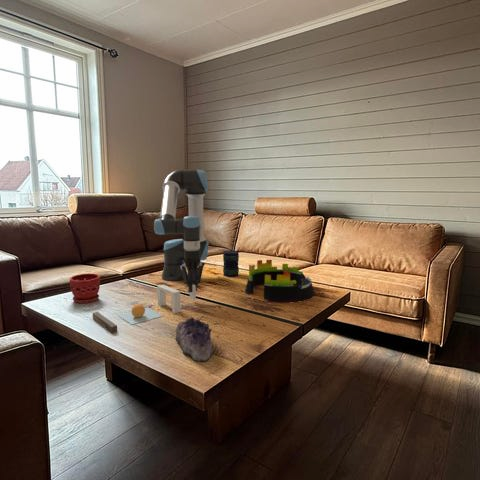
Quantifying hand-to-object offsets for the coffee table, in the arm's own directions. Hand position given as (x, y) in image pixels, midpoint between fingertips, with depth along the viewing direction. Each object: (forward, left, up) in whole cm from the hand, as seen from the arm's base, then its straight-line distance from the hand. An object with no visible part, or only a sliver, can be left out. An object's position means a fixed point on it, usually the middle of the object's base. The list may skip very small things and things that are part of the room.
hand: (192, 298), depth 163 cm
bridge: (+13, 0, -2) cm, 13 cm away
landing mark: (+27, 0, -2) cm, 27 cm away
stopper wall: (+42, 0, -2) cm, 42 cm away
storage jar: (-48, -28, -2) cm, 56 cm away
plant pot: (+37, -36, -2) cm, 52 cm away
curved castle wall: (-44, +16, -3) cm, 47 cm away
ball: (+28, +1, +1) cm, 28 cm away
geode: (+26, +41, -2) cm, 49 cm away
